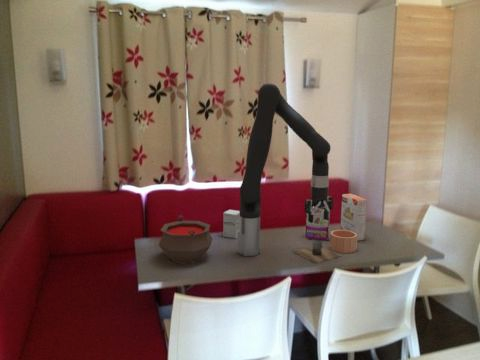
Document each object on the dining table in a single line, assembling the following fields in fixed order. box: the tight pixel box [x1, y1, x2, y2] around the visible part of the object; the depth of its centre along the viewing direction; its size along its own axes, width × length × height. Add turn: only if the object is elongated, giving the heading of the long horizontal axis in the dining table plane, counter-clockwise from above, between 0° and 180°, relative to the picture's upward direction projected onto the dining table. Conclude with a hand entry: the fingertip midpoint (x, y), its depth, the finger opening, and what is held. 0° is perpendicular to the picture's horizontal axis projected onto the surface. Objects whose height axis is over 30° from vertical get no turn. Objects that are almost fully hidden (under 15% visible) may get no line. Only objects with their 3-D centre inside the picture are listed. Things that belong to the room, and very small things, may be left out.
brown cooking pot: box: [158, 215, 213, 264], centre depth 181 cm, size 24×24×16 cm
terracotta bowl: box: [329, 229, 358, 254], centre depth 195 cm, size 12×12×7 cm
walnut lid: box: [292, 240, 342, 264], centre depth 187 cm, size 15×15×6 cm
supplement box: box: [222, 209, 240, 239], centre depth 210 cm, size 7×7×13 cm
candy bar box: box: [305, 206, 331, 241], centre depth 207 cm, size 11×5×16 cm, turn 73°
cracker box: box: [339, 193, 368, 242], centre depth 210 cm, size 14×6×21 cm, turn 17°
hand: (318, 221), depth 184 cm, fingers open, 8 cm apart
